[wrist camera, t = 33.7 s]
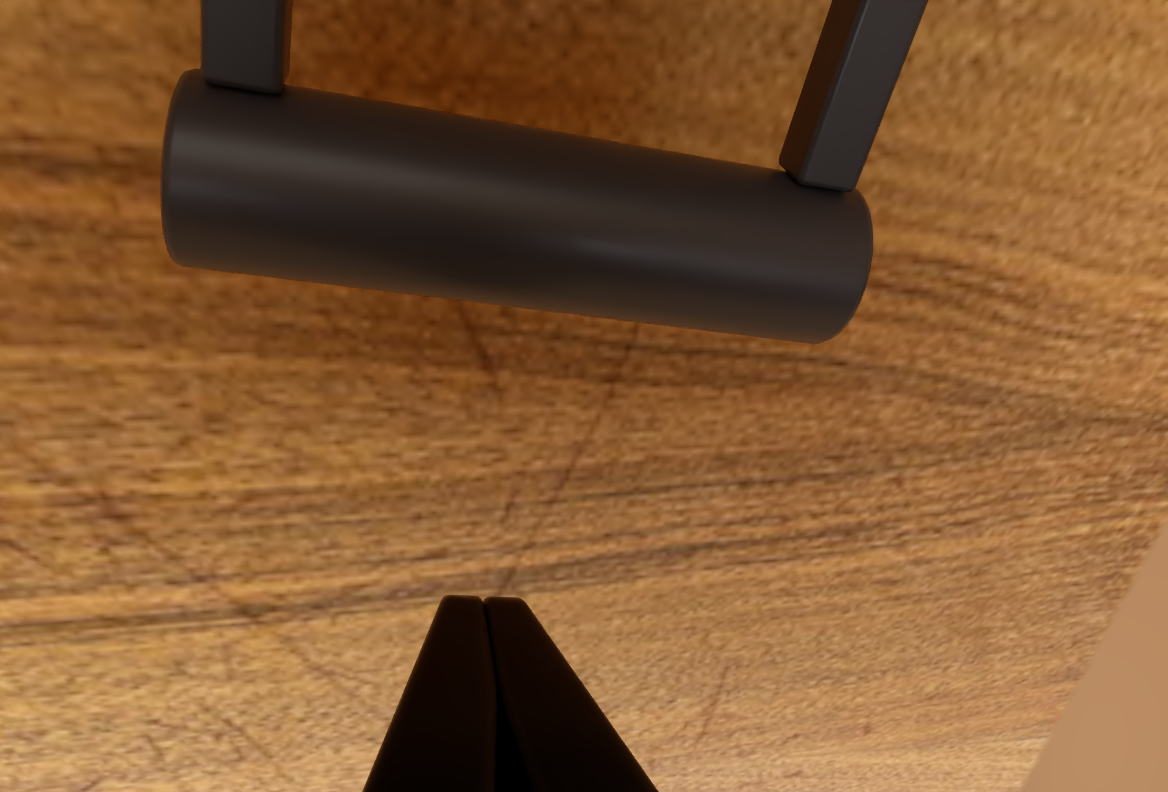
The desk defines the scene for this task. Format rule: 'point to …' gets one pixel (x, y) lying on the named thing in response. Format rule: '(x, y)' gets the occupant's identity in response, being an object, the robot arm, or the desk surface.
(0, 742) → the desk surface
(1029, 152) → the desk surface
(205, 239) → the drawer
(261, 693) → the desk surface
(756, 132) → the desk surface
